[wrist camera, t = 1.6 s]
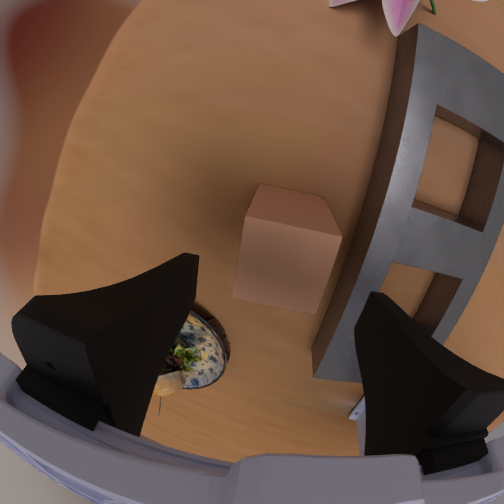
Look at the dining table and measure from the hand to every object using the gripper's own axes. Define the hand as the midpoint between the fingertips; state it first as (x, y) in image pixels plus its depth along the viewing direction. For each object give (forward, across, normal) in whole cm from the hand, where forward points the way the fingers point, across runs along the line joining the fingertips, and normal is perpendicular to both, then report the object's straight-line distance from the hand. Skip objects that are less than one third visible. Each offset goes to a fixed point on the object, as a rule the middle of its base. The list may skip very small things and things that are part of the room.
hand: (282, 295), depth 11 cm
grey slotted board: (+9, -10, -2) cm, 14 cm away
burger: (+10, +8, +14) cm, 19 cm away
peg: (+9, 0, 0) cm, 9 cm away
